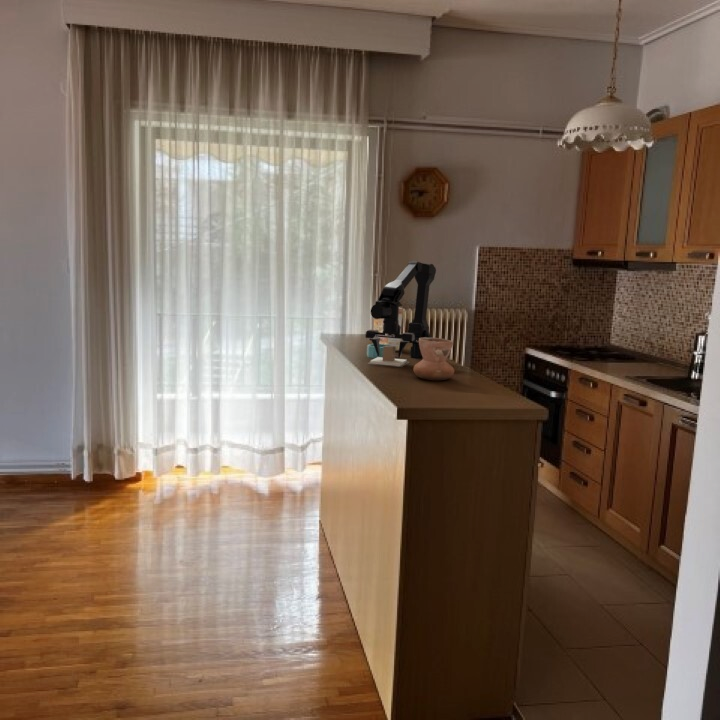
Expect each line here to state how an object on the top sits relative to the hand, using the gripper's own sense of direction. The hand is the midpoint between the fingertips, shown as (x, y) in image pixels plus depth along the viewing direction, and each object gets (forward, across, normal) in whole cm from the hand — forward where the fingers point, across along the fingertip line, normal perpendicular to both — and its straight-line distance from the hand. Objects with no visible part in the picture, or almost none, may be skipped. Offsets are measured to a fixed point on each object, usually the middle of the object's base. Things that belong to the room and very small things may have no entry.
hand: (388, 357), depth 279 cm
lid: (+2, 0, 0) cm, 2 cm away
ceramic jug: (+3, -22, +23) cm, 32 cm away
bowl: (+3, +7, -14) cm, 16 cm away
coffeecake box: (+3, +12, -44) cm, 46 cm away
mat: (+3, 0, 0) cm, 3 cm away
